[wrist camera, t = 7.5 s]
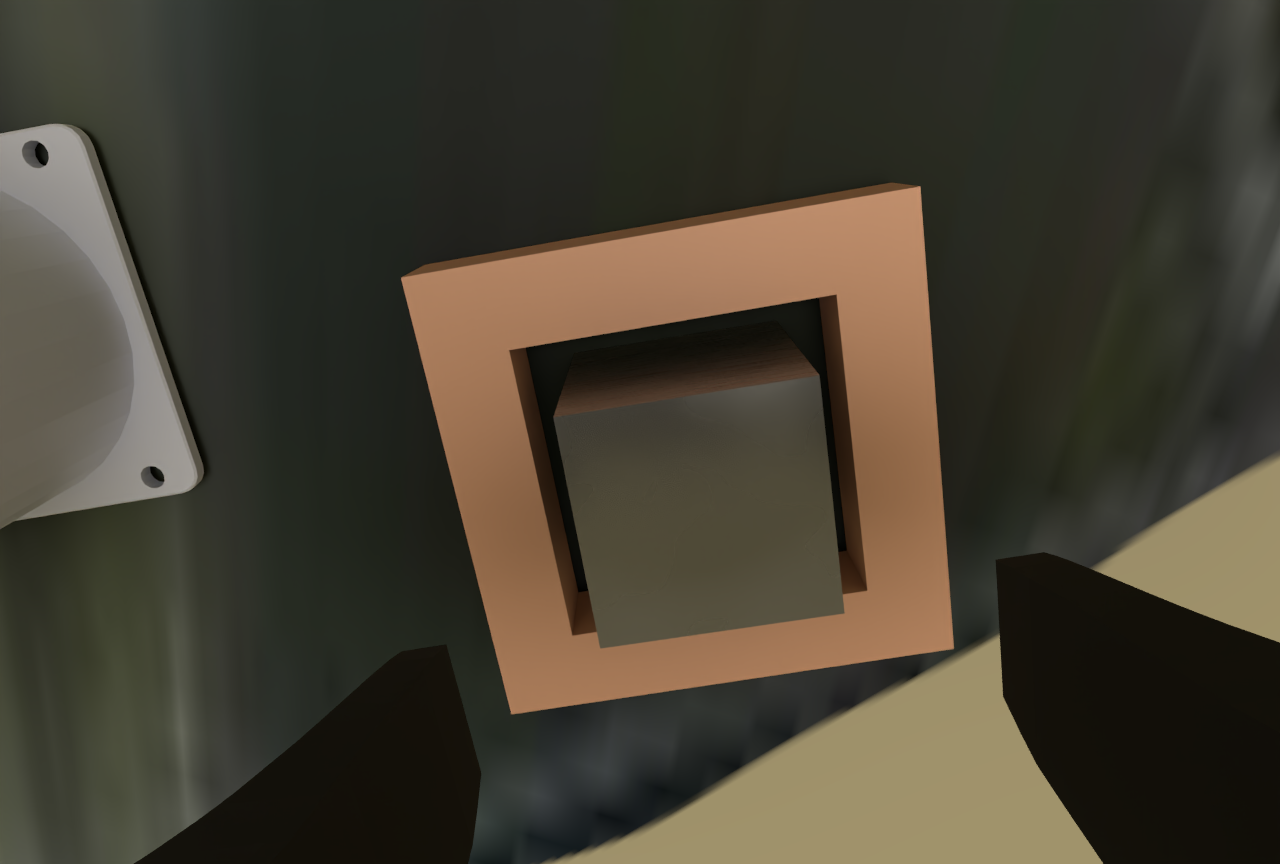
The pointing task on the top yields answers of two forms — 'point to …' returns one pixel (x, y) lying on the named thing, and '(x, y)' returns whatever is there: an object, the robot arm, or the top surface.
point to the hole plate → (670, 292)
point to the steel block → (700, 484)
